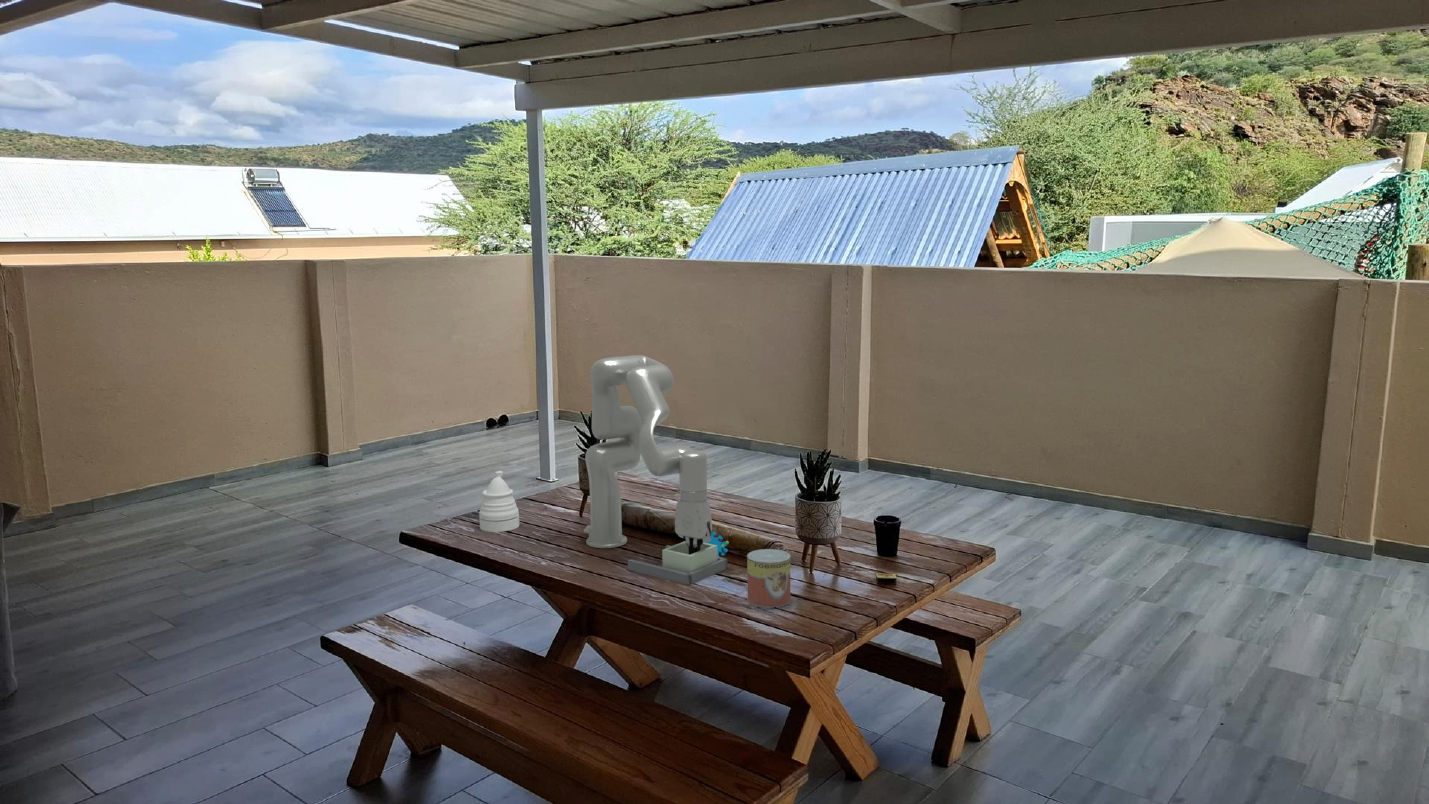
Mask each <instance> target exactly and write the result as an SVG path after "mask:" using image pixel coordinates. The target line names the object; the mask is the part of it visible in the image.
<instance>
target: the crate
mask: <svg viewBox="0 0 1429 804" xmlns="http://www.w3.org/2000/svg"><path fill="white" fill-rule="evenodd" d="M670 546H671V547H669V548H666V549H665V548H663V549H662V550H661V552H662V553H661V554H662V557H661V558H662V561H661V562H662V567H664V568H668V569H672V570H676V571H680V572H684V573H690V572H693V571H695V570H697V569H700V568H702V567H704V566H707V565H709V564H711V563H714V562H716V561H717V545H713V544H708V543H703V544H702V546H700V551H698V552H696V553H693V554H691V555H689V548H688V546H687V545H686V541H685V540H684V541H682V542H680V543H679V542H678V543H677V544H674V545H670Z"/></svg>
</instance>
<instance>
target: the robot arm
mask: <svg viewBox="0 0 1429 804" xmlns="http://www.w3.org/2000/svg"><path fill="white" fill-rule="evenodd" d="M589 374H590V375H589V381H590V386H591V391H592V402H591V403H592V405H591V407H592V409H591V432H592V434H593V436H594V438H596V439H598V440H602V441H603V440H605V442H600V443H599V442H598V443H596V444H594V445H591V446H590V447H589V448H588V449H587V450H586V452H585V464H586V469H587V474H588V483H589V503H590V504H589V506H590V524H587V525H586V527H585V528H584V529H583V532H584V533H585V534H588V537H587V539H586V540H585V542H586V546H588V547H590V548H596V549H612V548H613V549H614V548H618V547H621V546H624V545H625V544H627V543H628V537H627V536H625V535H624V534H623V529H622V527H623V525H622V523H623V522H622V495H621V494H622V493H621V492H622V490H621V484H620V481H618V479H617V478H616V476H615V474H614V473H617V472H623V471H628V470H632V469H634V468H636V467H637V466H638V465H639V463H640V460H641V458H642V459H643V463H644V464H645V466H646V468H647V470H648V471H649V473H651V474H652V475H653V476H655V477H666V476H671V475H676V474H679V488H678V489H677V494H679V498H677V502H676V505H675V514H674V532H675V533H676V534H677V536H678V537H679V538H682V539H683V540H684V541H686V545H687V546H688V548H689V555H691V554H693V553H696V552H698V551H700V546H702V544H703V543H706V542H709V541H711V538H710V536H711V534H712V532H713V523H712V522H713V520H712V512H711V505H710V501H709V500H708V471H707V469H708V467H707V455H706V453H705V452H704V451H701V450H697V449H693V448H691V447H690V446H687V445H676V446H670V447H663V448H659V447H658V444H657V443H656V440H655V436H654V429H655V428H656V427H657V426H658V425H660V424H661V423H662V422H664V421H665V420H666V419H667V418H668V417H669V415H670V412H671V410H670V408H669V405H668V402H667V401H666V399H665V397H664V394H665V393H669V392H670V391H671V390H672V389H673V387H674V385H675V379H674V375H673V373H672V371H671V369H669V367H668V366H666V365H665V364H663V363H661V362H660V361H657V360H655V359H653V358H650V357H648V356H646V355H641V354H634V355H624V356H622V355H621V356H613V357H611V356H610V357H606V358H602V359H598V360H596V361H595V362H594V363H593V364H592V366H591V368H590V372H589ZM623 385H624V386H626V387H627V390H628V393H629V394H630V396H631V398H632V399H631V400H632V402H633V403H634V406H635V407H634V406H632V405H621V402H622V401H621V400H622V396H621V395H622V394H621V392H620V390H619V389H618V386H623ZM614 439H618V440H614ZM606 440H609V441H606ZM610 440H612V441H610Z"/></svg>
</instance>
